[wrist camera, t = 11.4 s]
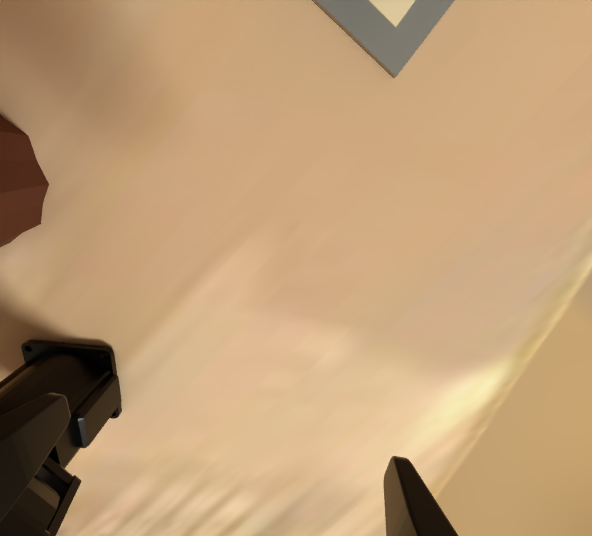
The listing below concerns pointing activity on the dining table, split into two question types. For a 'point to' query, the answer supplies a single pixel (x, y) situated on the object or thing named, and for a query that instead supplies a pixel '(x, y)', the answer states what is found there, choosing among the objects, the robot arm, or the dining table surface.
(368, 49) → the foundation tile
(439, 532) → the robot arm
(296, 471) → the dining table surface
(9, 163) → the muffin
